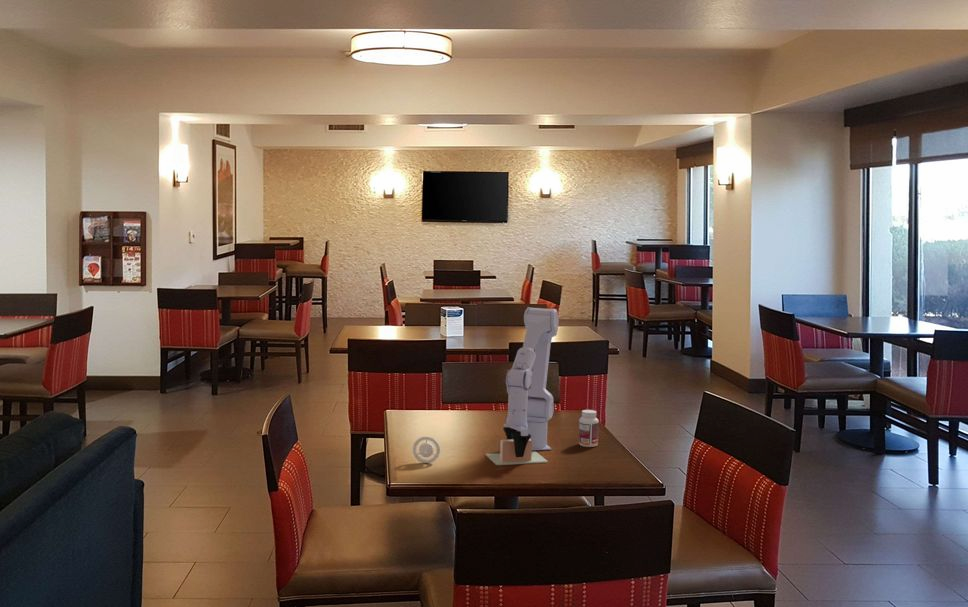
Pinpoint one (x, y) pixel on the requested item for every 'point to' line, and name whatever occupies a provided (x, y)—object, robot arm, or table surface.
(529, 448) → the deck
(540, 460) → the mat
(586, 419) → the pill bottle
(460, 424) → the table surface
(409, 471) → the table surface
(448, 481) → the table surface
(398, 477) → the table surface
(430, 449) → the ring around a ball
